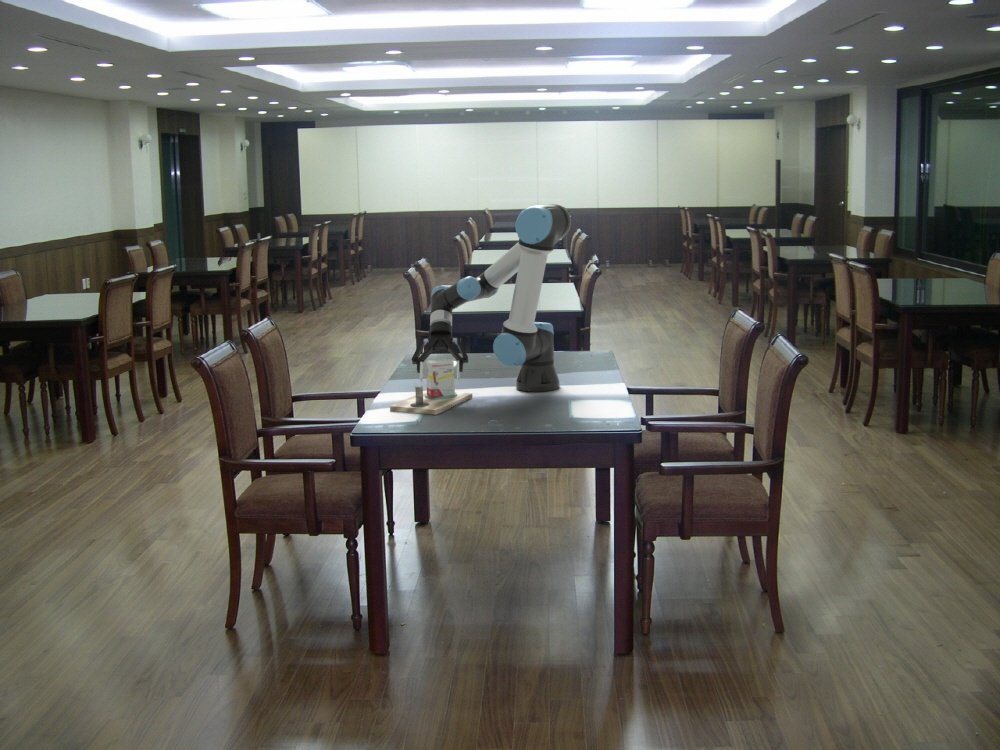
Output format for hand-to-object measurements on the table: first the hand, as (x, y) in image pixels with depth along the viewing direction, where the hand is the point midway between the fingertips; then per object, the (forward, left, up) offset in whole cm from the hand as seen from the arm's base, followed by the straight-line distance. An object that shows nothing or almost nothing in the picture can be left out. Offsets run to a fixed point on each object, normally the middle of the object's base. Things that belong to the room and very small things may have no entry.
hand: (439, 379), depth 348 cm
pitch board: (+1, +4, -8) cm, 8 cm away
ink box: (+1, -3, -6) cm, 7 cm away
